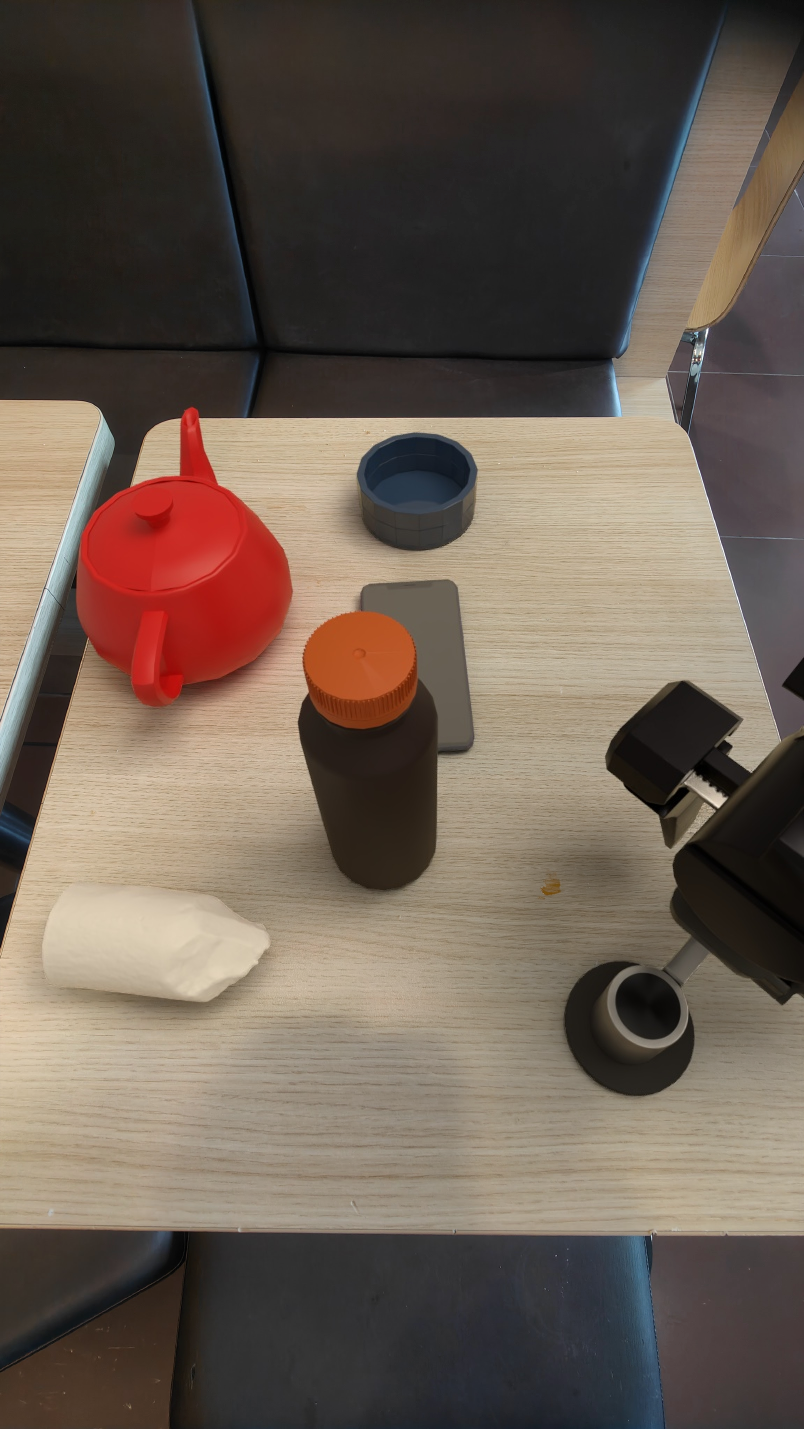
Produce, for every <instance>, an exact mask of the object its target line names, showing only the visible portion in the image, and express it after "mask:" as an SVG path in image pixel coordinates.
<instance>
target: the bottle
mask: <svg viewBox="0 0 804 1429" xmlns="http://www.w3.org/2000/svg"><path fill="white" fill-rule="evenodd" d="M301 658H302V660H301V662H302V670H303V674H304V678H305V683H306V685H307V690H308V692H307V694H306V695H305V697H304V699H303V700H302V702H301V705H300V710H299V713H298V718H297V727H298V728H297V729H298V734H299V742H300V745H301V749H302V753H303V757H304V760H305V763H306V767H307V771H308V774H309V778H310V782H311V785H312V789H313V792H314V796H315V799H316V803H317V806H318V810H319V814H320V817H321V821H322V824H323V828H324V832H325V835H326V839H327V842H328V846H329V849H330V854H331V856H332V859H333V860H334V862H335V864H336V866H337V868H338V870H339V871H340V872H341V873H342V874H343V875H344V876H345V877H346V878H347V879H348V880H350V882H352V883H354V884H356V885H358V886H361V887H363V888H365V889H368V890H374V891H375V890H376V891H384V892H385V891H386V892H387V891H390V890H395V889H400V888H403V887H405V886H406V885H408V884H411V883H412V882H414V881H415V880H417V879H418V878H419V877H420V876H421V875H422V874H423V873H424V872H425V871H426V870H427V868H429V866H430V863H431V862H432V859H433V857H434V855H435V854H436V847H437V838H438V766H439V764H438V760H439V758H438V757H439V751H438V715H437V711H436V707H435V703H434V699H433V696H432V695H431V694H430V692H429V691H428V689H427V688H426V686H425V685H424V684H423V682H422V681H421V680H420V679H418V675H417V653H416V645H415V644H414V641H413V637H411V634H409V631H406V627H405V628H404V627H403V625H400V624H399V622H396V619H395V620H393V619H392V617H391V618H390V617H388V615H387V616H385V615H384V614H379V613H376V612H370V611H369V612H365V611H364V612H363V611H361V610H358V611H357V610H355V611H349V612H345V613H340V614H339V615H336V616H335V617H331V618H330V619H329V618H328V619H327V620H326V621H324V622H323V623H322V624H320V626H319V627H318V626H317V627H316V629H315V630H313V633H310V637H308V640H306V644H304V648H303V652H302V656H301Z"/></svg>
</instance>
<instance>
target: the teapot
mask: <svg viewBox="0 0 804 1429" xmlns="http://www.w3.org/2000/svg"><path fill="white" fill-rule="evenodd" d="M200 422H201V421H200V416H199V410H198V409H196V408H194V407H193V406H190V407H189V408H187V409H185V411H184V413H183V415H182V417H181V418H180V424H179V438H180V439H179V442H180V443H179V448H180V449H179V475H167V476H159V477H155V478H151V479H147V480H143V481H141V482H139V483H136V484H134V485H132V486H130V487H128V488H125V489H122V490H120V491H118V492H116V493H115V494H113V496H111V497H110V498H109V499H108V500H107V501H105V502H104V503H103V504H102V505H100V506H99V507H98V508H97V509H95V511H94V512H93V513H92V515H91V516H90V518H89V520H88V522H87V524H86V526H85V528H84V529H83V531H82V533H81V535H80V541H79V547H78V560H77V567H76V591H75V592H76V593H75V602H76V603H75V604H76V613H77V617H78V620H79V623H80V625H81V628H82V630H83V631H84V633H85V635H86V636H87V638H88V640H89V642H90V644H91V645H92V647H93V649H94V650H95V652H96V654H97V655H98V657H100V658H101V659H103V660H104V661H105V662H106V663H108V664H110V665H111V666H113V667H115V668H116V669H118V670H120V671H121V672H123V673H125V674H126V675H127V676H129V677H130V683H131V687H132V691H133V693H134V696H135V698H136V699H137V700H138V701H139V702H140V703H141V704H142V705H144V706H148V707H152V708H161V707H166V706H169V705H171V704H172V703H174V701H176V700H177V699H178V698H179V696H180V695H181V691H182V688H183V686H184V685H190V684H197V683H202V682H207V681H212V680H217V679H221V678H223V677H225V676H227V675H229V674H231V673H232V672H234V671H236V670H238V669H240V668H242V667H244V666H246V665H248V664H249V663H250V664H251V663H252V662H253V661H255V660H256V659H257V658H258V657H259V656H260V655H261V654H262V653H263V652H264V651H265V650H266V649H267V648H268V647H269V646H270V645H271V644H272V643H273V642H274V640H275V639H276V638H277V637H278V636H279V635H280V634H281V632H282V629H283V626H284V623H285V621H286V618H287V615H288V612H289V609H290V606H291V603H292V599H293V594H294V589H293V583H292V576H291V571H290V570H291V569H290V564H289V560H288V558H287V555H286V552H285V549H284V548H283V546H282V545H281V544H280V542H279V541H278V539H277V538H276V537H275V535H274V534H273V533H272V532H271V531H270V529H269V528H268V527H267V525H265V523H264V522H263V520H261V518H260V517H259V516H258V515H257V514H256V513H255V512H254V511H253V509H251V508H250V507H249V506H248V505H247V504H246V503H245V502H244V501H243V500H242V499H241V498H239V496H238V495H236V494H235V493H234V492H233V491H231V490H230V489H228V488H226V487H224V486H222V485H220V484H219V483H218V480H217V477H216V474H215V472H214V469H213V467H212V465H211V461H210V460H209V457H208V454H207V452H206V450H205V446H204V441H203V433H202V428H201V423H200Z"/></svg>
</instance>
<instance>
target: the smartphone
mask: <svg viewBox="0 0 804 1429" xmlns="http://www.w3.org/2000/svg"><path fill="white" fill-rule="evenodd" d="M359 596H360V597H359V598H360V599H359V600H360V611H363V612H364V611H365V612H369V611H370V612H376V613H379V614H384V615H385V616H387V615H388V617H390V618H391V617H392V619H393V620H395V619H396V622H399V624H400V625H403V627H404V628H405V627H406V631H409V634H411V637H413V641H414V644H415V645H416V653H417V675H418V679H420V680H421V681H422V682H423V684H424V685H425V686H426V688H427V689H428V691H429V692H430V694H431V695H432V696H433V699H434V703H435V707H436V711H437V715H438V752H453V751H454V752H455V751H468V750H469V749H471V747H473V745H474V742H475V738H476V737H475V730H474V729H475V727H474V726H475V725H474V718H473V710H472V701H471V700H472V699H471V691H470V684H469V683H470V682H469V675H468V666H467V658H466V647H465V637H464V630H463V623H462V613H461V612H462V611H461V605H460V604H461V603H460V595H459V587H458V585H457V584H456V583H455V581H453V580H451V579H449V578H446V579H430V580H429V579H426V580H410V581H409V580H408V581H393V582H378V583H377V582H374V583H368V584H366V585H364V586H363V587H362V588H361V591H360V595H359Z"/></svg>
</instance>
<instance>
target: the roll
mask: <svg viewBox="0 0 804 1429" xmlns="http://www.w3.org/2000/svg"><path fill="white" fill-rule="evenodd" d="M271 942H272V941H271V935H270V934H269V933H268V929H267V928H266V925H264V924H263V923H260V922H253V921H251V920H249V919H246V918H243V917H242V916H241V915H239V914H237V913H236V912H235V911H234V910H232V909H231V908H230V907H229V906H227V905H226V904H225V902H223V901H222V900H221V899H219V898H217V896H216V895H212V894H208V893H201V892H195V891H186V890H180V889H179V890H178V889H169V888H164V887H159V886H152V885H141V884H139V885H138V884H123V883H122V884H120V883H110V882H109V883H108V882H99V881H88V880H87V881H85V880H76V881H74V882H72V883H71V884H70V885H68V886H67V887H66V888H65V889H64V890H63V891H62V892H61V893H60V895H59V897H58V898H57V900H56V901H55V903H54V904H53V906H52V908H51V909H50V912H49V913H48V916H47V919H46V922H45V928H44V931H43V937H42V942H41V966H42V972H43V974H44V977H45V979H46V981H47V983H48V984H49V985H51V986H55V987H62V988H74V989H75V988H76V989H88V990H97V991H103V992H104V991H106V992H112V993H123V994H129V995H137V996H144V997H151V998H160V999H167V1000H168V999H169V1000H176V1001H186V1002H197V1003H198V1002H199V1003H207V1002H211V1001H212V1000H213V999H214V998H217V997H218V996H220V995H221V993H222V992H224V991H226V990H227V989H228V988H229V987H230V986H232V985H235V984H237V983H238V982H239V981H240V980H241V979H243V978H245V977H246V976H248V974H249V972H250V971H251V969H252V968H254V967H255V966H257V965H259V961H258V960H259V959H260V958H262V955H263V954H264V953H265V951H267V950H268V949H269V948H270V947H271V944H272V943H271Z"/></svg>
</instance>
